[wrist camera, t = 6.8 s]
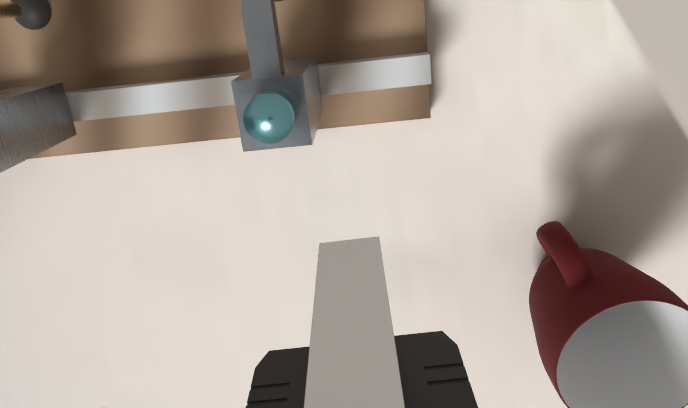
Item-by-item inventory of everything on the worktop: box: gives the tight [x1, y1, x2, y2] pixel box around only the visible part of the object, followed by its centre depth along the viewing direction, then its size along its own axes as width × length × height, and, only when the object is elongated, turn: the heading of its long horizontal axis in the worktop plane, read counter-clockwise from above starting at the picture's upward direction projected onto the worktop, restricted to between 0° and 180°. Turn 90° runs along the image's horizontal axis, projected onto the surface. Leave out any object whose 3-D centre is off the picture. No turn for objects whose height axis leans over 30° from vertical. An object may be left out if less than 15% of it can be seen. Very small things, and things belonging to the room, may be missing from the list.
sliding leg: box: [231, 0, 323, 152], centre depth 26 cm, size 3×8×9 cm, turn 6°
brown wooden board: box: [0, 0, 432, 159], centre depth 32 cm, size 26×12×3 cm, turn 96°
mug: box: [529, 221, 688, 408], centre depth 33 cm, size 11×8×10 cm
